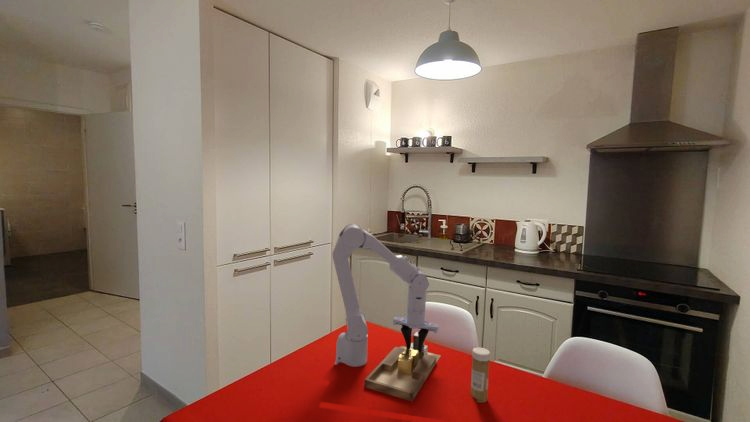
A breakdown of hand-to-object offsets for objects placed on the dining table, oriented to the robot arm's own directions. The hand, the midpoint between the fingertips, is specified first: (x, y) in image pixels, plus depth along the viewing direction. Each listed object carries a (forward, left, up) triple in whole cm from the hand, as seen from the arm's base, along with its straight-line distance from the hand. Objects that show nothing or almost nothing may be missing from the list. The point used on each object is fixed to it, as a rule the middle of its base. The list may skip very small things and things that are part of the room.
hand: (414, 349), depth 115 cm
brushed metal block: (0, +5, -3) cm, 6 cm away
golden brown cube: (0, -8, -3) cm, 9 cm away
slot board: (0, -7, -4) cm, 8 cm away
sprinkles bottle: (+22, -10, -4) cm, 25 cm away
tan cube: (0, -4, -3) cm, 5 cm away
